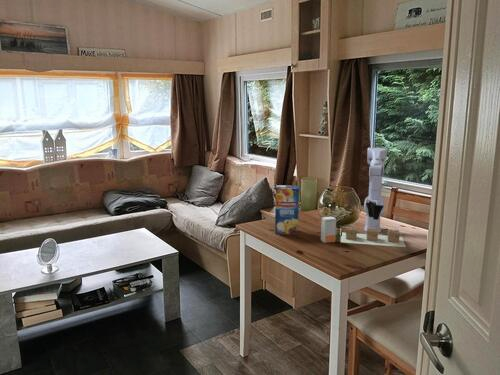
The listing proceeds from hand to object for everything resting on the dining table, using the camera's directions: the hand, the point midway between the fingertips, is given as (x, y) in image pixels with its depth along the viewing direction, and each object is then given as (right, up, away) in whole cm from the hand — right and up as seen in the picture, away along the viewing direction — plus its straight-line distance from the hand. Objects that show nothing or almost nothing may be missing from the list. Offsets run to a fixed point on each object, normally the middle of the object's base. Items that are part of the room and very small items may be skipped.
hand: (373, 218), depth 210 cm
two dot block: (-9, -10, +7) cm, 15 cm away
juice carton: (-40, -9, +18) cm, 45 cm away
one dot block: (+10, -11, +3) cm, 15 cm away
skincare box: (-21, -12, +3) cm, 25 cm away
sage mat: (+1, -11, +5) cm, 12 cm away
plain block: (+1, -11, +5) cm, 12 cm away
